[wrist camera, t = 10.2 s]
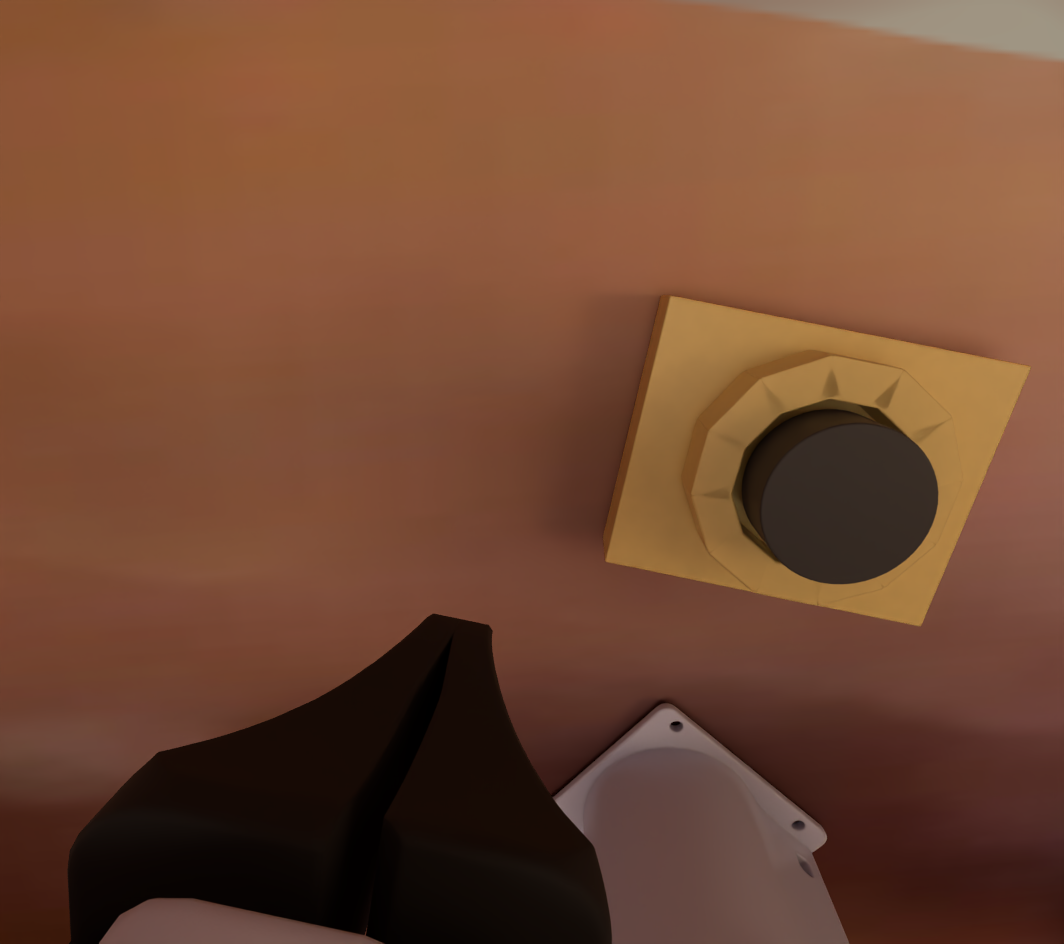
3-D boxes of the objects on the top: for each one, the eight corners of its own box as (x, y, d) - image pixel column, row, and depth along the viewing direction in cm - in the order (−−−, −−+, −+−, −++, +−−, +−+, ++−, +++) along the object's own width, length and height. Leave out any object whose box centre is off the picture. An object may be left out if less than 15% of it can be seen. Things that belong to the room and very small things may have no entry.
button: (924, 425, 18) (967, 442, 16) (869, 568, 19) (902, 600, 17) (766, 394, 18) (789, 407, 16) (722, 538, 19) (738, 566, 17)
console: (985, 359, 20) (1079, 374, 17) (890, 596, 23) (952, 657, 19) (660, 294, 21) (679, 295, 17) (602, 537, 23) (606, 586, 19)
